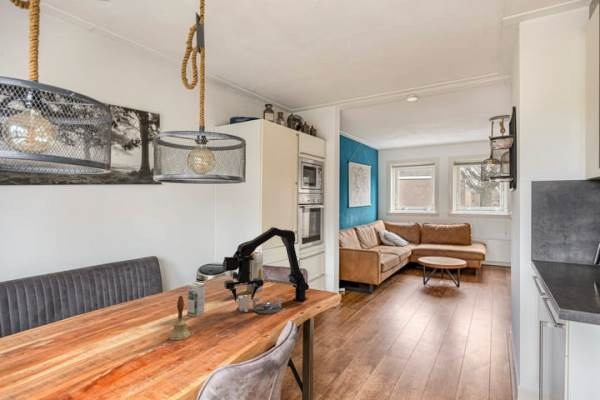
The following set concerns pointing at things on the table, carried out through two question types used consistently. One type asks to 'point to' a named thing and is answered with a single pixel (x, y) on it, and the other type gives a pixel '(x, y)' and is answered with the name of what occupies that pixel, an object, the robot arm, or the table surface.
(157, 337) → the table surface
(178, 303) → the hand bell
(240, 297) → the cream block with tab
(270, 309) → the lugged metal disc
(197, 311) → the syrup box
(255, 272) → the juice carton
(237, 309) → the rubber pad
